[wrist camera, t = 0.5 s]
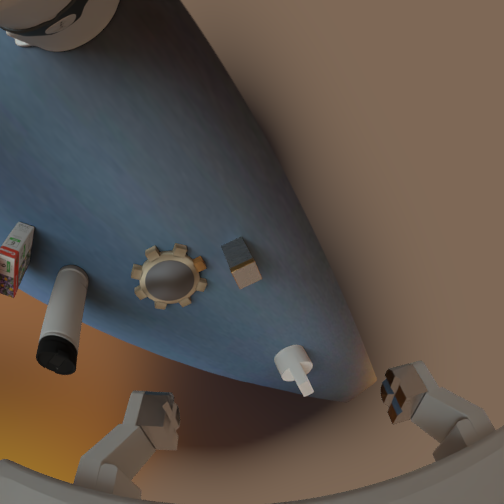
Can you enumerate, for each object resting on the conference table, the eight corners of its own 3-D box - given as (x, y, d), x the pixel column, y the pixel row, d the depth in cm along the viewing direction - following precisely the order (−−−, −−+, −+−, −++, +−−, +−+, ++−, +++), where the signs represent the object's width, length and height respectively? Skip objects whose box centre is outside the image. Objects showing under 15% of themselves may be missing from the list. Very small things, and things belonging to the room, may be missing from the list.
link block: (220, 245, 53) (231, 272, 47) (241, 236, 53) (254, 261, 47) (228, 262, 56) (240, 289, 49) (248, 252, 56) (262, 278, 50)
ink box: (35, 226, 40) (5, 279, 28) (30, 263, 42) (7, 320, 31) (17, 220, 38) (-16, 272, 26) (14, 257, 41) (-13, 313, 29)
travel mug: (95, 274, 48) (83, 365, 33) (79, 296, 49) (66, 384, 34) (67, 256, 45) (43, 345, 29) (52, 280, 46) (29, 367, 30)
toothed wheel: (117, 265, 49) (116, 271, 47) (186, 230, 49) (187, 235, 48) (155, 313, 57) (156, 320, 56) (217, 285, 58) (219, 291, 57)
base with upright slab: (306, 355, 83) (324, 387, 73) (278, 368, 82) (294, 401, 73) (300, 340, 77) (319, 374, 68) (270, 355, 77) (286, 390, 68)
